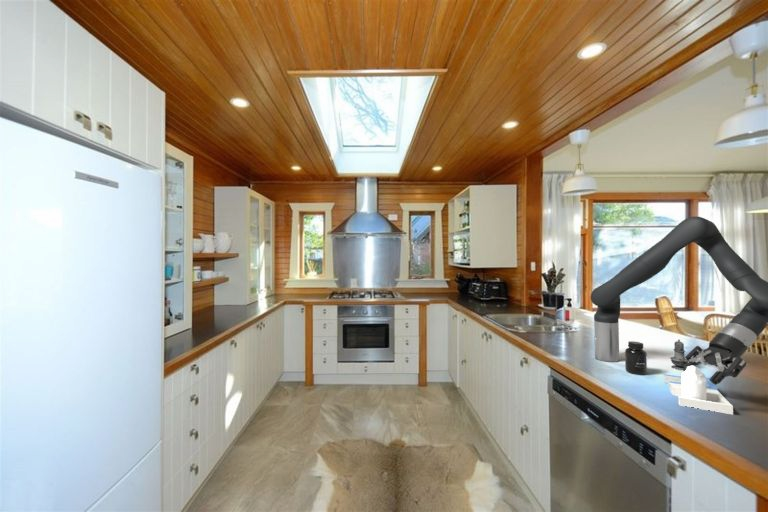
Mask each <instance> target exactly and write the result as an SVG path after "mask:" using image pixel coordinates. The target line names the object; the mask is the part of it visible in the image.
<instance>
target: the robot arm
mask: <svg viewBox="0 0 768 512" xmlns="http://www.w3.org/2000/svg"><path fill="white" fill-rule="evenodd" d="M692 243H694V244H696V245H697V246H699V247H700V248H701V249H702V250H703V251H705V252H706V253H707V254H708V256H709V257H710V258H711V259H712V261H713V262H714V265H715V266H716V268H717V269H718V271H719V272H720V273H721V275H722V276H723V277H724V278H725V279H726V280H727V281H728V283H729V284H730V285H731V286H732V287H733V288H734V289H735V290H737V291H739V292H746V294H747V295H749V296H750V297H751V298H750V299H749V300H748V301H747V302H746V304H745V305H744V307H742V309H741V310H740V311H739V312H738V313H737V314H736V315H735V316H734V317H733V318H732V319H731V320H730V321H729V322H728V323H727V324H726V325H725V326H723V327H722V328H721V329H720V331H718V332H717V333H716V334H715V335H714V337H712V339H711V340H710V341H709V343H708V347H707V348H701V347H700V345H696V346H695V347H694V348H693V349H692V350H690V352H688V353H687V354H686V355H685V356H684V357H685V359H687V360H688V361H689V362H688V364H687V365H686V366H684V368H683V370H682V372H684V371H685V370H686V369H687V367H688V366H692V365H693V366H695V367H700V366H702V365H703V366H706V365H709V366H710V365H711V366H715V367H717V369H718V370H716V371H715V372H714V373H713V375H712V376H710V378H709V380H710V381H711V382H712V383H713V384H715V385H716V386H718V384H720V383H721V382H723V380H724V379H725V378H727V377H732V378H738V376H739V375H740V374H741V372H742V371H743V370H744V368H745V367H746V366H747V364H748V363H747V361H745V360H744V359H743V358H741V357H742V356H743V355H744V354H745V352H746V351H747V350H749V348H751V346H752V345H753V344H754V342H755V341H756V339H757V338H758V336H760V335H761V333H762V332H763V331H764V330H765V329H766V327H767V324H768V281H767V280H766V279H763V278H761V277H760V275H759V274H758V273H757V272H756V270H753V268H752V267H751V266H750V265H749V264H748V263H747V262H746V260H744V259H743V257H741V256H740V255H739V254H737V252H736V251H734V250H733V248H732V247H731V246H730V245H729V243H728V242H727V241H726V238H725V237H724V236H723V235H722V232H720V230H719V229H718V227H717V225H716V224H715V223H714V222H712V221H710V220H709V219H708V218H707V219H706V218H705V217H701V216H690V217H687V218H685V219H683V220H682V221H680V222H679V223H678V224H677V225H676V226H675V227H674V228H673V229H672V230H671V231H670V232H668V234H666V235H665V236H664V237H663V238H662V239H661V240H658V241H657V242H656V243H655V244H654V245H652V246H651V247H649V249H647V250H646V251H645V252H643V253H642V254H640V255H639V256H638V257H636V258H635V259H633V260H632V261H631V262H630V263H628V265H626V266H625V267H623V268H622V269H621V270H620V271H619V272H618V273H617V274H616V275H614V276H612V278H611V279H608V281H606V282H604V283H602V284H601V285H599V286H597V287H595V288H594V289H593V290H592V292H591V293H590V301H591V303H592V304H593V305H595V306H596V307H597V309H596V312H595V313H594V315H593V320H594V321H593V322H594V323H593V324H594V325H593V328H594V339H593V340H594V359H595V360H599V361H602V362H612V363H615V362H616V363H617V362H619V361H620V331H619V329H620V328H619V324H620V323H619V318H620V315H621V295H622V294H624V293H626V292H627V291H628V290H630V289H632V288H634V287H636V286H638V285H641V284H643V283H645V282H646V281H649V280H650V279H652V278H653V277H655V276H657V275H658V274H659V273H660V272H662V271H663V270H664V269H665V268H666V267H667V266H668V264H669V263H670V262H671V260H672V259H673V257H675V255H676V254H677V253H678V252H679V251H681V250H682V249H684V248H686V247H687V246H688V245H690V244H692Z"/></svg>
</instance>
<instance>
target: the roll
mask: <svg viewBox="0 0 768 512" xmlns="http://www.w3.org/2000/svg"><path fill="white" fill-rule="evenodd" d="M680 376H681V396H682V397H687V398H693V399H699V400H706V386H707V382H706V378H707V376H705V374H704V373H703V372H702V371H701V369H700V368H699V366H697V367H695V366H693V365H692V366H688V367H687V369H686V370H685V371H682V372H681V373H680Z"/></svg>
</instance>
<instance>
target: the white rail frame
mask: <svg viewBox="0 0 768 512" xmlns="http://www.w3.org/2000/svg"><path fill="white" fill-rule="evenodd" d="M663 377H664V378H663V379H664V380H663V382H664V383H665V384H669V387H668V388H669V391H670V393H671V394H672V396H675V397H677V398H678V405H679V406H680V407H685V406H687V408H691V407H694V408H693V409H697V408H699V409H698V410H703V411H708V410H710V411H709V412H714V411H715V413H716V412H717V413H722V414H726V415H734V406H733V404H731V403H730V402H729V401H728V399H726V397H724V395H722V394H721V392H720V391H719V390H718V385H715V384H713V383H712V382H711V381H710V380H709V379H710V378H709V377H708V378H707V377H706V382H707V386H706V400H707V401H706V400H699V399H693V398H687V397H682V396H681V375H680V376H679V375H671V374H663ZM712 401H714V402H712Z"/></svg>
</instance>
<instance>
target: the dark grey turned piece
mask: <svg viewBox="0 0 768 512" xmlns="http://www.w3.org/2000/svg"><path fill="white" fill-rule="evenodd" d="M684 344H685V343H684V342H682V341H681V339H678V340H677V341H674V344H673V345H674V349H673V351H674V352H673V353H674V354H673V357H670V358H669V359H670V361H671V363H672V364H673V365H672V366H671V368H672V369H674V368H675V370H680V371H683V368H684V367H685V366H686V365H687V364H688V363H689V361H688V360H687V359H686V358H685V357H686V356H685V352H686V350H685V348H684V347H685V346H684Z"/></svg>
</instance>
